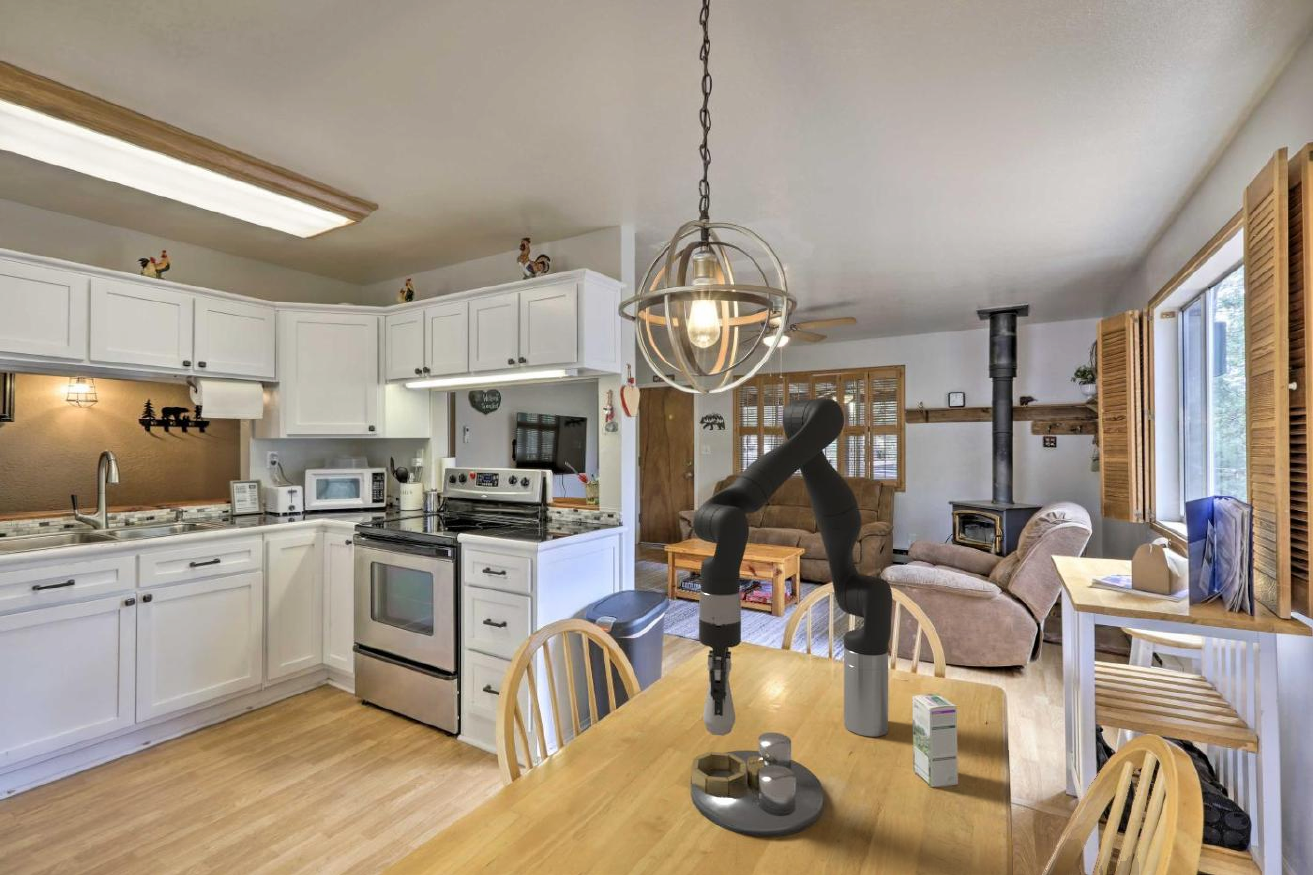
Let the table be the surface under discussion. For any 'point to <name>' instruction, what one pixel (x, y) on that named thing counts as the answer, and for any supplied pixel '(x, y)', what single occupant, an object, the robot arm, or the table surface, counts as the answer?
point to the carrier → (757, 789)
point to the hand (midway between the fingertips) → (719, 712)
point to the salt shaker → (717, 722)
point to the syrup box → (935, 740)
